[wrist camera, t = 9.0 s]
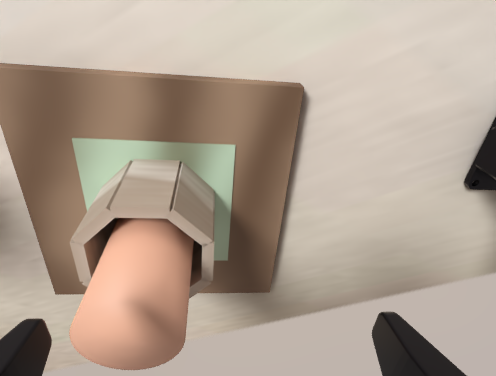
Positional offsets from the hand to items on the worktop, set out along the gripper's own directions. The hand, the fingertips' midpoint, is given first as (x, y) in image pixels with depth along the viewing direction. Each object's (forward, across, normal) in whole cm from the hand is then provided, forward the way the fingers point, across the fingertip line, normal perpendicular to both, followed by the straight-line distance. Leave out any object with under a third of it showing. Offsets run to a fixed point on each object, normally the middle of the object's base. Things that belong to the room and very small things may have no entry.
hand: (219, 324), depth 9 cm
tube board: (+13, +4, +4) cm, 14 cm away
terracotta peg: (+12, +4, +4) cm, 13 cm away
